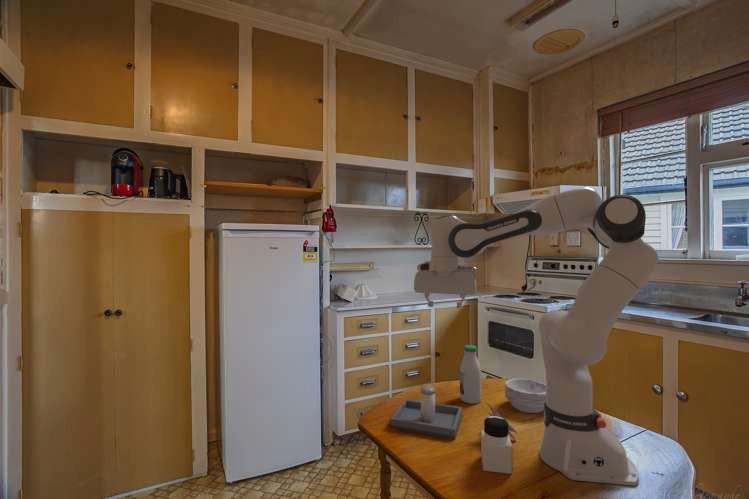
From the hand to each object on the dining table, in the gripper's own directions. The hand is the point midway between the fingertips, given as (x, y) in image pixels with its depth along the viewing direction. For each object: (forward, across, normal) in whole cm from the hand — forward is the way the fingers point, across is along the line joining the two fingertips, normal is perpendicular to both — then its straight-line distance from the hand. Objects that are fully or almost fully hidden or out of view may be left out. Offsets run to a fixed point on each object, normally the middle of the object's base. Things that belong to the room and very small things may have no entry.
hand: (444, 307), depth 123 cm
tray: (+37, +5, +4) cm, 38 cm away
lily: (+37, -18, +6) cm, 42 cm away
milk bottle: (+37, -6, -18) cm, 42 cm away
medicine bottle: (+37, -17, +21) cm, 46 cm away
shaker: (+36, +5, +4) cm, 37 cm away
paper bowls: (+37, -26, -19) cm, 49 cm away
